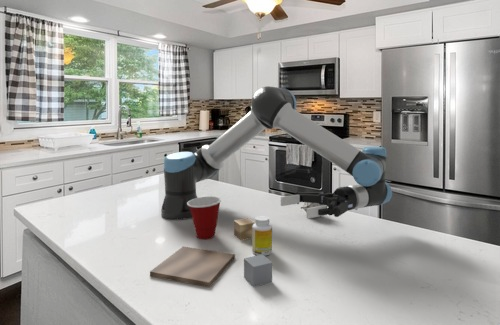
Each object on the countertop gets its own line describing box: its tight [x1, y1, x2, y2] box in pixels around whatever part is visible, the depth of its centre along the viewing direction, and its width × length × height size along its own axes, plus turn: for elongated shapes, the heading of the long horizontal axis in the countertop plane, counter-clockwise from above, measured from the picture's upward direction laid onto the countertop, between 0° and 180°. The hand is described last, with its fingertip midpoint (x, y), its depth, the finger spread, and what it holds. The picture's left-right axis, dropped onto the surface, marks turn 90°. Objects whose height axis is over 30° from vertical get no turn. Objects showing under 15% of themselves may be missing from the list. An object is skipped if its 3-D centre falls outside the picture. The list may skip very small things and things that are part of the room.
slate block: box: [243, 255, 273, 288], centre depth 81 cm, size 5×5×5 cm
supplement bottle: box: [251, 215, 273, 257], centre depth 96 cm, size 6×6×10 cm
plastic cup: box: [187, 195, 222, 240], centre depth 108 cm, size 11×11×12 cm
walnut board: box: [149, 246, 236, 288], centre depth 88 cm, size 16×16×1 cm
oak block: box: [233, 218, 255, 241], centre depth 108 cm, size 5×5×5 cm
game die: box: [300, 200, 323, 218], centre depth 128 cm, size 9×8×10 cm
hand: (293, 207), depth 99 cm, fingers open, 13 cm apart
